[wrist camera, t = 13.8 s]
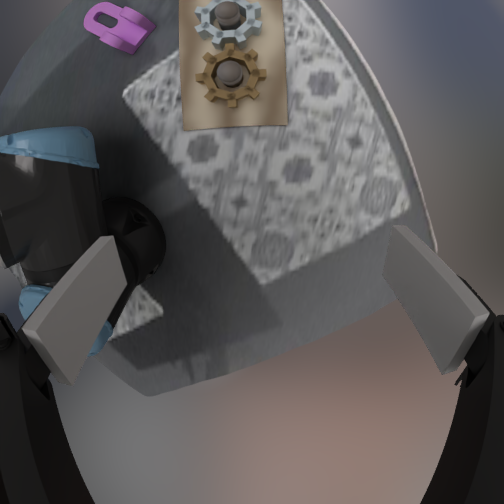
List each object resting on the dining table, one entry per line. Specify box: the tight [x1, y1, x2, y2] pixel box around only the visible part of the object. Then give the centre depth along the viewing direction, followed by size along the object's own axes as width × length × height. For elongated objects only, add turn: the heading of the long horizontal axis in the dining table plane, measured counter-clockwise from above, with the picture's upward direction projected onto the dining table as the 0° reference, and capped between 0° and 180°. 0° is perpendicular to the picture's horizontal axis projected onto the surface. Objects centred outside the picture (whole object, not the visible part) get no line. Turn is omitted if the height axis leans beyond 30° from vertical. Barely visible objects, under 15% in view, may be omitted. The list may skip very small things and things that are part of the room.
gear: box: [194, 0, 262, 51], centre depth 25 cm, size 8×8×4 cm
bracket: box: [84, 2, 156, 55], centre depth 23 cm, size 13×6×7 cm, turn 50°
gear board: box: [179, 0, 288, 131], centre depth 26 cm, size 14×22×9 cm, turn 2°
